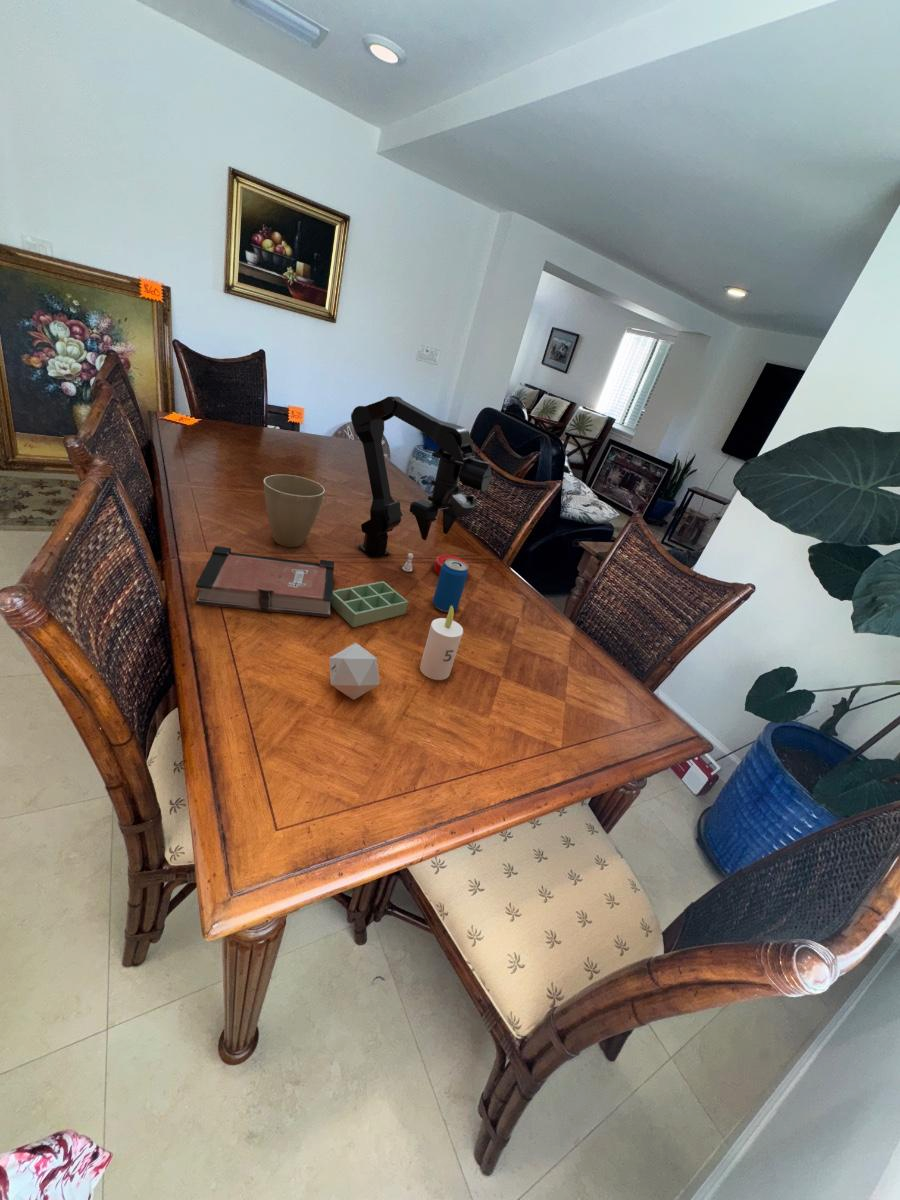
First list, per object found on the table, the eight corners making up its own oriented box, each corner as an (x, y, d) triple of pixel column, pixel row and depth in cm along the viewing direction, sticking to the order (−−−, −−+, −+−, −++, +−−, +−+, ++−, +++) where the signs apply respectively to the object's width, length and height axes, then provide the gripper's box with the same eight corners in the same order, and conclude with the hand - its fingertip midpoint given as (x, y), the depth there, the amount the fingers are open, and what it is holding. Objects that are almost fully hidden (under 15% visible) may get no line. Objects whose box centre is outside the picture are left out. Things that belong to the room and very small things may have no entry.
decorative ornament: (431, 562, 141) (433, 552, 139) (462, 566, 144) (465, 557, 142) (436, 578, 133) (439, 567, 131) (469, 582, 136) (472, 572, 134)
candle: (426, 682, 93) (444, 618, 86) (415, 660, 98) (431, 598, 91) (455, 679, 96) (475, 617, 89) (443, 659, 101) (461, 598, 94)
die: (340, 668, 92) (317, 643, 84) (385, 656, 91) (366, 630, 83) (342, 710, 87) (319, 688, 79) (390, 697, 86) (371, 674, 78)
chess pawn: (412, 568, 134) (416, 552, 132) (412, 572, 132) (415, 556, 130) (402, 566, 134) (406, 550, 132) (401, 570, 131) (405, 554, 129)
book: (195, 605, 96) (194, 584, 94) (215, 565, 111) (215, 546, 108) (329, 618, 103) (332, 599, 101) (331, 579, 118) (334, 561, 115)
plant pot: (274, 556, 121) (279, 496, 113) (250, 531, 129) (253, 474, 122) (328, 551, 131) (335, 495, 123) (302, 527, 139) (308, 474, 132)
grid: (328, 604, 109) (330, 591, 107) (381, 593, 118) (383, 581, 117) (352, 627, 103) (355, 614, 101) (405, 613, 113) (408, 601, 111)
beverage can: (460, 606, 123) (472, 564, 117) (452, 616, 117) (464, 573, 111) (437, 597, 124) (448, 555, 118) (428, 607, 118) (439, 564, 112)
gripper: (450, 493, 109) (437, 555, 117) (493, 486, 124) (478, 541, 131) (413, 478, 114) (402, 538, 121) (458, 472, 128) (446, 526, 136)
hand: (434, 536), depth 127 cm, fingers open, 9 cm apart
